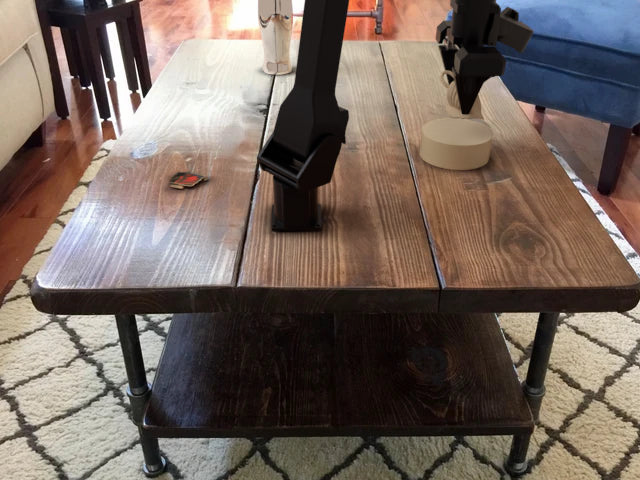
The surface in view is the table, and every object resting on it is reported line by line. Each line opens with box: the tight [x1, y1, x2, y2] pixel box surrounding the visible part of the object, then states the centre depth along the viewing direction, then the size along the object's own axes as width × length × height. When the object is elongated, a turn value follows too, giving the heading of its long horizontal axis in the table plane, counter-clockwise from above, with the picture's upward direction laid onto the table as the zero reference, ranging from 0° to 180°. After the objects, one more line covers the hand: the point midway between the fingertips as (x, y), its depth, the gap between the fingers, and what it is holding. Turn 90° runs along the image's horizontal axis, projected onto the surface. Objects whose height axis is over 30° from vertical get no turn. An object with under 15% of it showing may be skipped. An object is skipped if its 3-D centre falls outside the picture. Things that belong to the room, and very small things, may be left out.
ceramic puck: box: [418, 117, 494, 171], centre depth 101 cm, size 11×11×4 cm
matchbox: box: [168, 171, 209, 190], centre depth 93 cm, size 5×5×1 cm
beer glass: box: [257, 0, 294, 76], centre depth 130 cm, size 7×7×15 cm
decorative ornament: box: [439, 70, 485, 121], centre depth 96 cm, size 4×8×5 cm, turn 24°
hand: (460, 105), depth 97 cm, fingers closed on decorative ornament, 7 cm apart
